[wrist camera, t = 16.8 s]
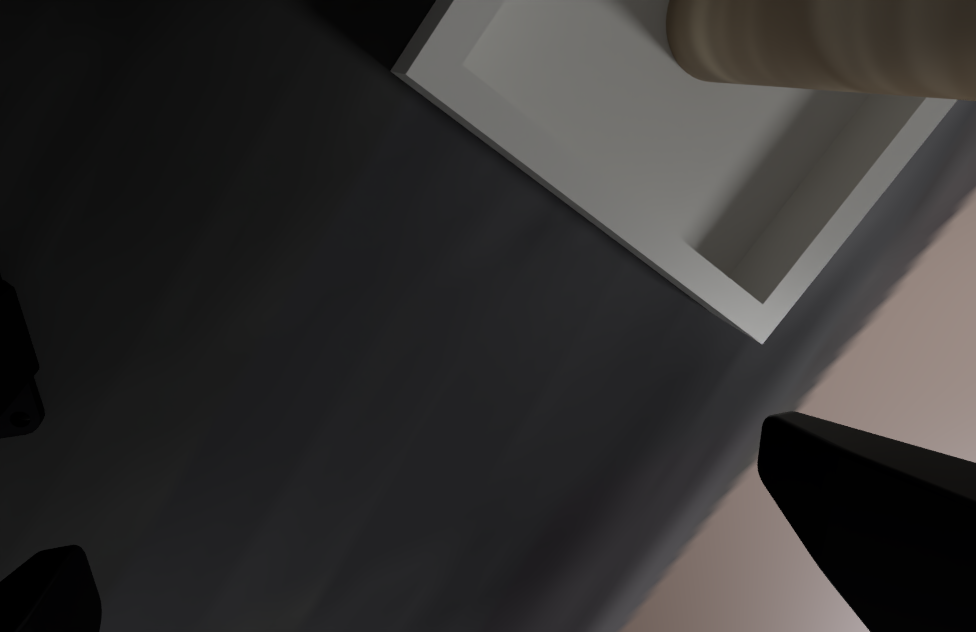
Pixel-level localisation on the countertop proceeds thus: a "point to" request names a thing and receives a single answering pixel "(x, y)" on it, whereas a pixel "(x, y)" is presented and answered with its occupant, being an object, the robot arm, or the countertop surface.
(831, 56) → the pin
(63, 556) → the robot arm
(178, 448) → the countertop surface
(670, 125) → the tray
